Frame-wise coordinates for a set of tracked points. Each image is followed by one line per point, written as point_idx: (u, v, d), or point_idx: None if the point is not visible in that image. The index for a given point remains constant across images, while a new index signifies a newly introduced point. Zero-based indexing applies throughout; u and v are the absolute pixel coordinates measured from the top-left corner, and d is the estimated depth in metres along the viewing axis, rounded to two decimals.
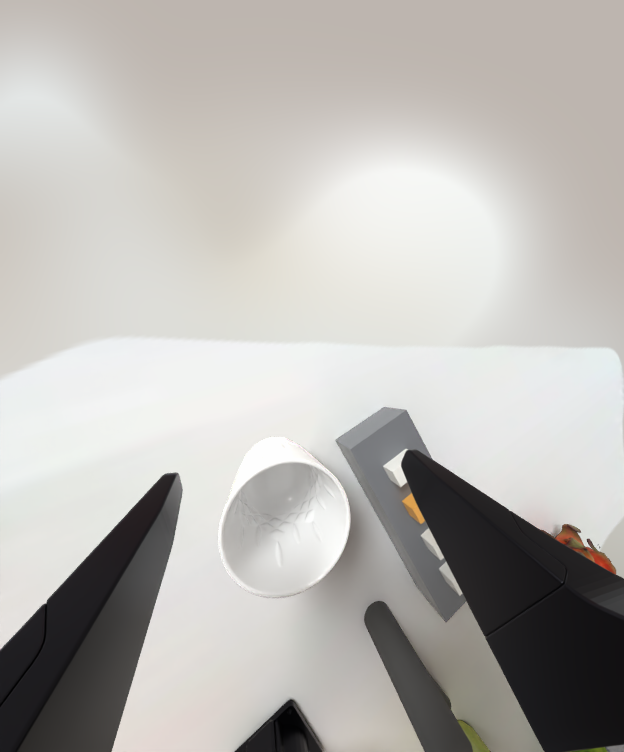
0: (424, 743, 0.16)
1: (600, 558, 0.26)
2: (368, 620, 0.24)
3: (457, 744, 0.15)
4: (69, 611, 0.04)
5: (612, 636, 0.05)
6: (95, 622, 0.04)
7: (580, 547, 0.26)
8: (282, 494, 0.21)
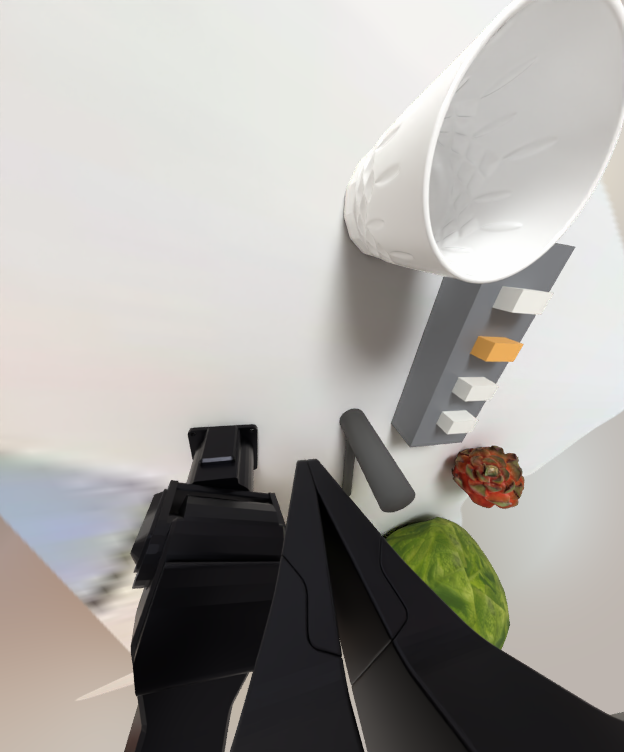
0: (380, 484, 0.18)
1: (520, 479, 0.31)
2: (348, 415, 0.25)
3: (407, 494, 0.18)
4: (307, 561, 0.05)
5: (424, 717, 0.03)
6: (326, 570, 0.05)
7: None
8: None
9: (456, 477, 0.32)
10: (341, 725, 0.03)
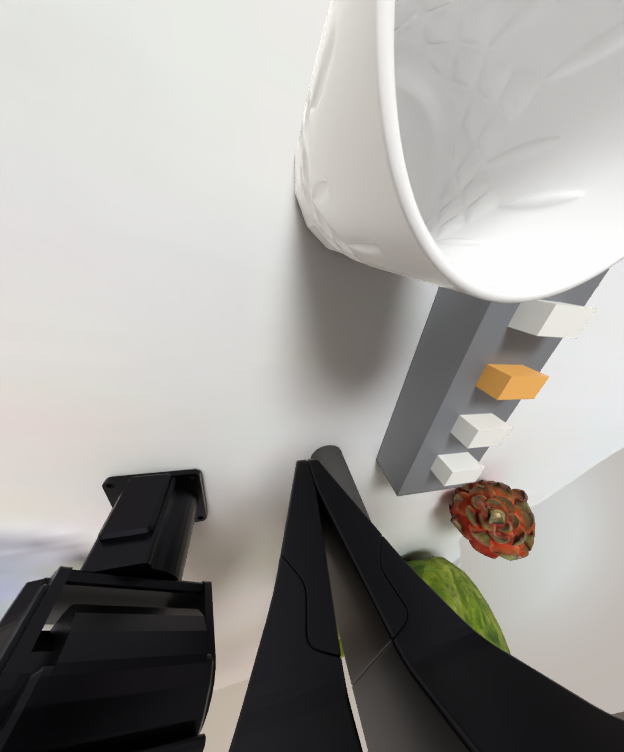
0: None
1: None
2: (320, 455, 0.20)
3: None
4: (306, 561, 0.05)
5: (425, 718, 0.03)
6: (325, 570, 0.05)
7: (527, 509, 0.26)
8: None
9: (454, 520, 0.27)
10: (340, 725, 0.03)
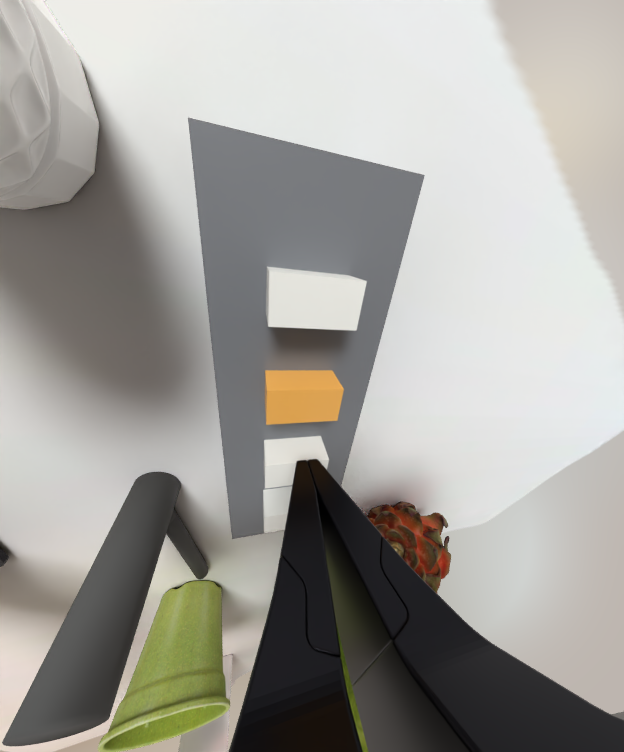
0: (30, 688, 0.09)
1: (444, 557, 0.22)
2: (134, 486, 0.15)
3: (74, 719, 0.08)
4: (306, 561, 0.05)
5: (425, 716, 0.03)
6: (325, 570, 0.05)
7: (437, 542, 0.21)
8: None
9: None
10: (340, 726, 0.03)
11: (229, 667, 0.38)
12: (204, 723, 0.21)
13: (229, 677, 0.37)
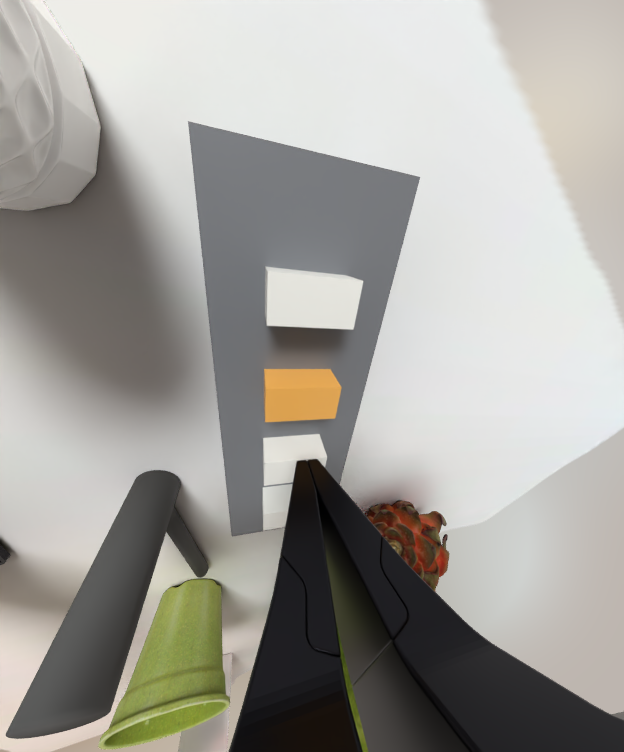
0: (32, 682, 0.09)
1: (443, 555, 0.22)
2: (135, 484, 0.16)
3: (76, 712, 0.08)
4: (306, 561, 0.05)
5: (424, 717, 0.03)
6: (325, 570, 0.05)
7: (436, 540, 0.21)
8: None
9: None
10: (340, 725, 0.03)
11: (229, 666, 0.38)
12: (204, 720, 0.21)
13: (229, 676, 0.38)
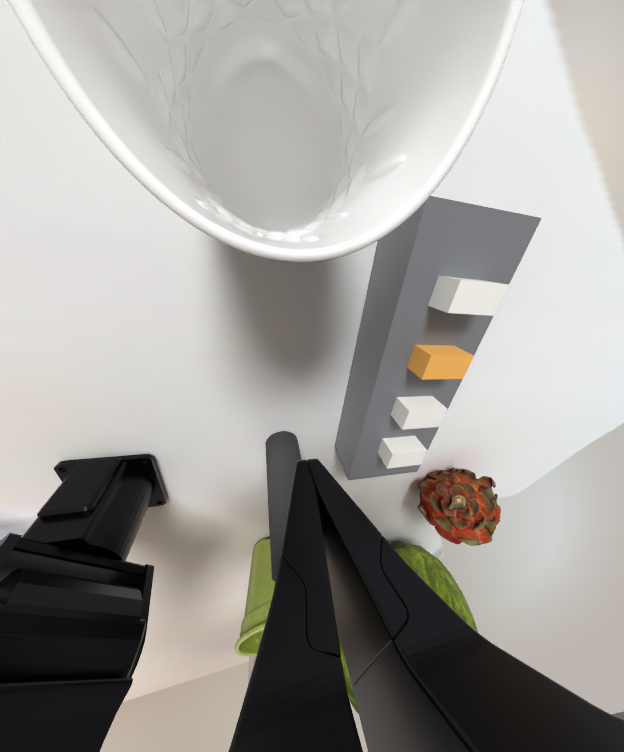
0: (275, 547, 0.13)
1: (496, 509, 0.26)
2: (272, 440, 0.20)
3: None
4: (306, 561, 0.05)
5: (424, 717, 0.03)
6: (325, 570, 0.05)
7: (491, 495, 0.26)
8: (260, 199, 0.11)
9: (420, 506, 0.27)
10: (340, 725, 0.03)
11: None
12: None
13: None
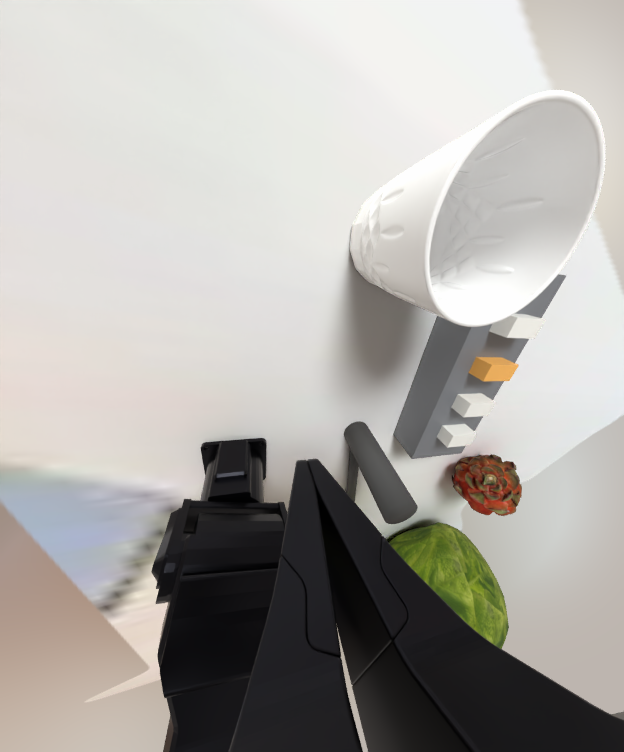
0: (384, 497, 0.19)
1: (518, 487, 0.32)
2: (352, 428, 0.26)
3: (410, 507, 0.19)
4: (306, 561, 0.05)
5: (425, 718, 0.03)
6: (325, 570, 0.05)
7: (514, 475, 0.32)
8: None
9: (456, 485, 0.33)
10: (340, 726, 0.03)
11: None
12: None
13: None
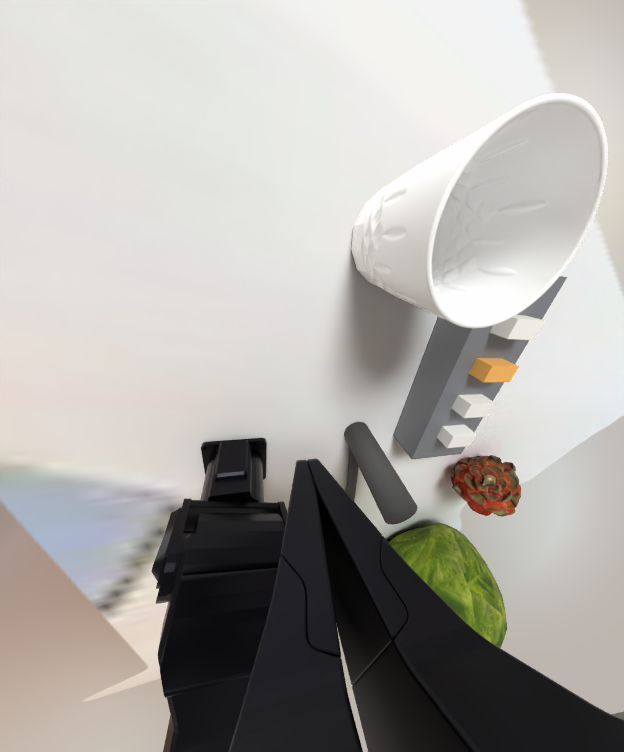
0: (384, 497, 0.19)
1: (517, 488, 0.32)
2: (353, 428, 0.26)
3: (410, 507, 0.19)
4: (306, 561, 0.05)
5: (425, 717, 0.03)
6: (325, 570, 0.05)
7: (514, 476, 0.32)
8: None
9: (455, 486, 0.33)
10: (340, 726, 0.03)
11: None
12: None
13: None
